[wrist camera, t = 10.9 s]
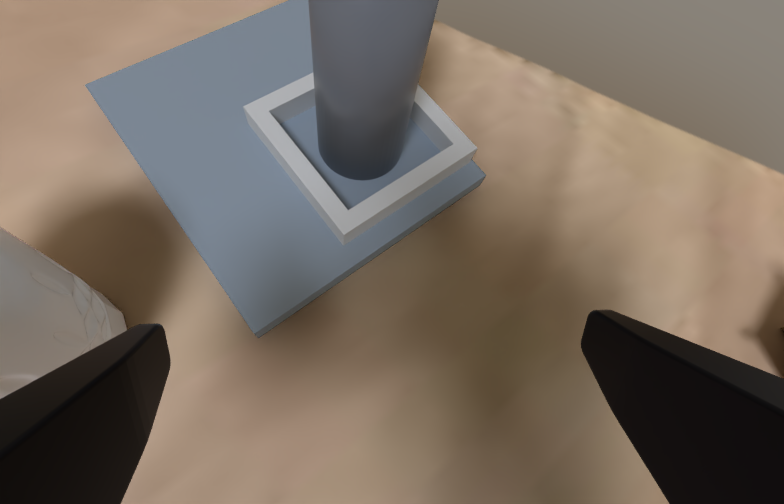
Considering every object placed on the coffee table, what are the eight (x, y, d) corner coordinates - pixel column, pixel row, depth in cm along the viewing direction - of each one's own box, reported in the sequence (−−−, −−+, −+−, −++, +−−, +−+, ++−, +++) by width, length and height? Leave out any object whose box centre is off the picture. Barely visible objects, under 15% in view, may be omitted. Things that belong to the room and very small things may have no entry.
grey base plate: (479, 185, 27) (494, 161, 24) (258, 338, 22) (248, 328, 19) (316, 4, 30) (314, -32, 28) (95, 99, 25) (69, 64, 23)
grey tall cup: (405, 182, 25) (472, -41, 12) (316, 181, 24) (294, -57, 12) (400, 109, 26) (453, -147, 14) (316, 106, 26) (299, -165, 14)
